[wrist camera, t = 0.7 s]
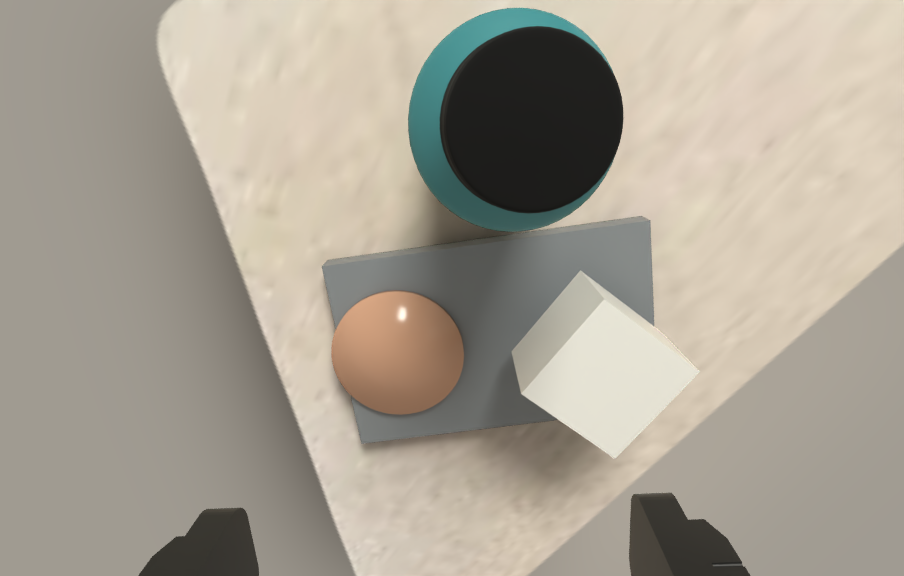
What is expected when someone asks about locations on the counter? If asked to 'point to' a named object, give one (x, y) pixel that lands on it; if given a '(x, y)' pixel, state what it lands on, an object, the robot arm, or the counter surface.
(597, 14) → the counter surface
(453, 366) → the tan flat disc
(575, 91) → the beverage bottle
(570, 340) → the off-white matte cube
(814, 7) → the counter surface
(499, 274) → the post board
